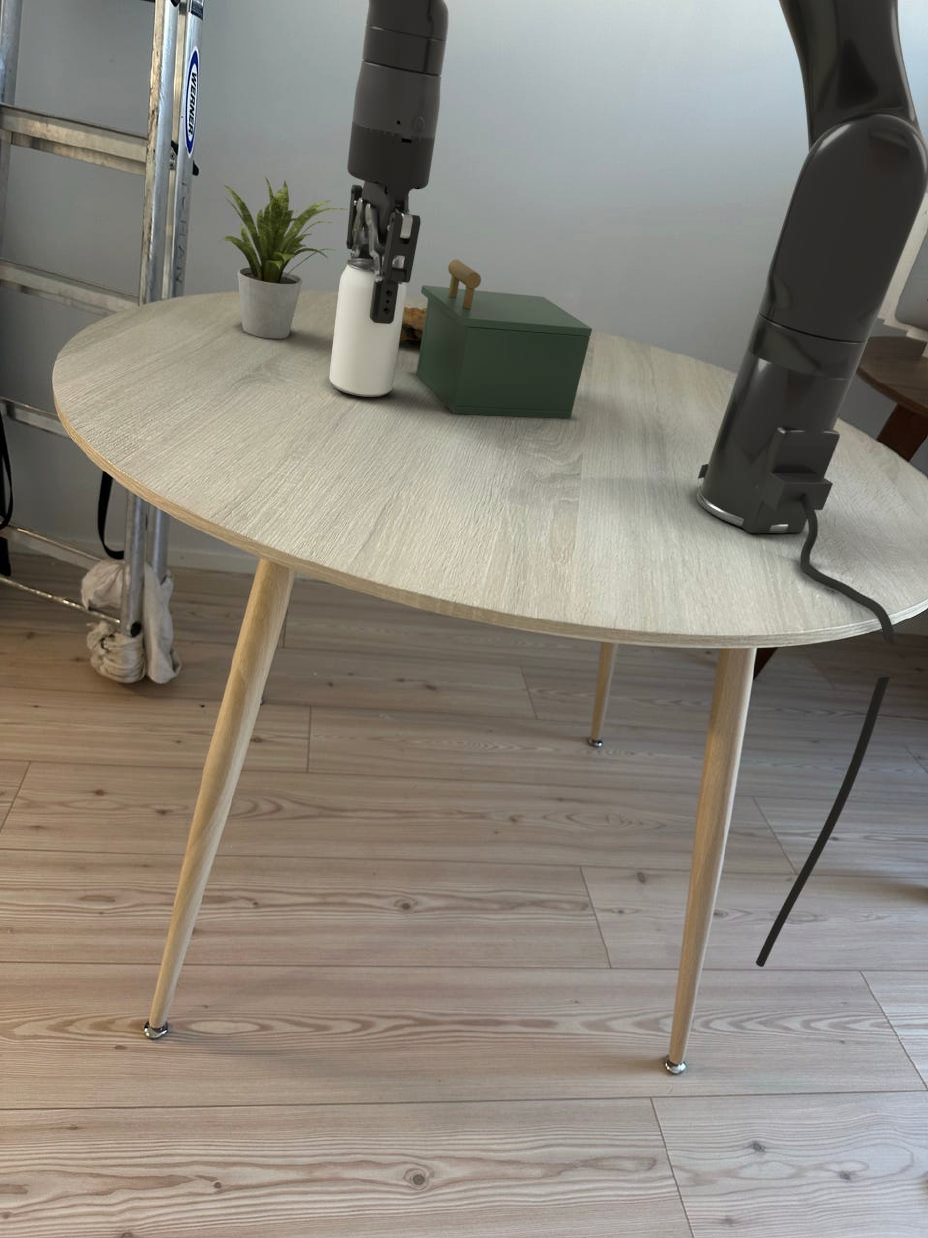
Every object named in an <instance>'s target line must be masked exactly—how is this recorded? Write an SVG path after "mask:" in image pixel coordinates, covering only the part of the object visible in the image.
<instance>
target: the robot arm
mask: <svg viewBox="0 0 928 1238" xmlns="http://www.w3.org/2000/svg"><path fill="white" fill-rule="evenodd" d="M778 3H779V6H780V8H781V11H782V14H783V18H784V20H785V23H786V26H787V29H788V31H789V34H790V38H791V41H792V43H793V46H794V50H795V53H796V57H797V60H798V64H799V69H800V74H801V79H802V80H801V81H802V86H803V87H802V88H803V95H804V104H805V116H806V126H807V142H808V143H807V147H808V153H807V155H806V156H805V159H804V160H803V163H802V164H801V165H802V166H801V168H800V171H799V174H798V176H797V179H796V182H795V185H794V188H793V190H792V194H791V197H790V200H789V204H788V207H787V209H786V213H785V216H784V219H783V223H782V226H781V230H780V233H779V235H778V239H777V243H776V245H775V249H774V252H773V255H772V259H771V261H770V264H769V268H768V271H767V276H766V280H765V282H766V283H765V287H764V291H763V296H762V298H761V301H760V305H759V308H758V312H757V314H756V317H755V319H754V323H753V327H752V330H751V332H750V334H749V339H748V342H747V344H746V347H745V350H744V353H743V355H742V360H741V362H740V366H739V368H738V372H737V374H736V377H735V381H734V384H733V388H732V390H731V393H730V396H729V399H728V401H727V404H726V407H725V410H724V413H723V417H722V420H721V423H720V426H719V430H718V432H717V436H716V438H715V442H714V445H713V447H712V451H711V453H710V457H709V461H708V463H707V464H706V463H705V464H701V467H700V469H699V474H698V476H697V479H699V480H700V479H702V481H701V484H700V486H699V487H698V490H697V494H696V500H697V502H698V503H699V505H700V506H701V507H702V508H704V510H706V511H707V512H709V513H710V514H712V515H713V516H715V517H717V518H718V519H720V520H722V521H724V522H727V523H730V524H732V525H734V526H737V527H740V528H742V529H743V530H744V531H746V532H747V533H750V534H776V533H777V534H782V533H784V534H785V533H787V534H788V533H803V532H804V529H805V527H806V524H807V523H808V525H807V526H808V531H807V536H806V540H805V541H804V543H803V546H802V548H801V551H800V558H799V559H800V561H799V565H800V569H801V570H802V571H803V572H804V573H805V574H806V575H807V576H808V577H809V578H810V579H812V580H814V581H815V582H817V583H819V584H821V585H823V586H825V587H828V588H830V589H832V590H834V591H837V592H839V593H840V594H842V595H844V596H845V597H847V598H849V599H850V600H852V601H853V602H855V603H857V604H859V605H860V606H862V607H864V608H866V609H867V610H869V611H871V612H872V614H874V615H875V617H877V620H878V622H879V624H880V628H881V630H882V631H881V632H882V635H883V640H884V641H885V642H886V643H887V644H889V645H893V646H895V645H896V636H895V635H896V634H895V631H894V626H893V623H892V620H891V618H890V616H889V614H888V613H887V611H886V609H885V608H884V607H883V606H882V605H881V604H880V603H879V602H877V601H876V600H874V599H872V598H871V597H868V596H867V595H865V594H863V593H861V592H859V591H858V590H856V589H854V588H853V587H851V586H850V585H848V584H846V583H844V582H842V581H841V580H838V579H835V578H834V577H831V576H828V575H826V574H824V573H823V572H821V571H819V570H818V569H817V568H816V567H814V566H813V565H812V564H811V562H810V561H811V553H812V550H813V548H814V545H815V543H816V540H817V538H818V532H819V522H818V517H817V516H818V515H817V513H816V511H823V510H824V507H825V505H826V502H827V500H828V497H829V495H830V492H831V490H832V487H833V484H834V483H833V482H832V481H830V480H829V479H827V478H825V476H826V474H827V471H828V468H829V466H830V463H831V461H832V458H833V456H834V453H835V451H836V449H837V446H838V443H839V440H840V438H841V435H840V432H839V431H837V430H836V429H835V426H836V423H837V421H838V418H839V416H840V413H841V410H842V408H843V405H844V403H845V400H846V397H847V396H848V392H849V390H850V387H851V384H852V383H853V379H854V377H855V375H856V372H857V370H858V367H859V364H860V362H861V359H862V357H863V354H864V351H865V350H866V349H865V348H866V346H867V344H868V340H869V338H870V336H871V333H872V331H873V328H874V326H875V323H876V321H877V319H878V317H879V314H880V312H881V309H882V307H883V305H884V302H885V300H886V298H887V297H886V296H887V294H888V292H889V288H890V286H891V283H892V281H893V278H894V275H895V274H896V271H897V268H898V265H899V263H900V261H901V258H902V255H903V252H904V250H905V248H906V245H907V243H908V240H909V237H910V236H911V234H912V233H911V232H912V230H913V228H914V224H915V223H916V220H917V218H918V216H919V212H920V210H921V208H922V205H923V202H924V199H925V196H926V193H927V190H928V146H927V144H926V141H925V139H924V136H923V133H922V131H921V127H920V123H919V120H918V117H917V113H916V108H915V105H914V101H913V96H912V92H911V87H910V83H909V78H908V75H907V73H908V72H907V70H906V69H907V68H906V65H905V60H904V55H903V49H902V43H901V35H900V34H901V33H900V25H899V0H778ZM449 16H450V15H449V9H448V5H447V3H446V2H445V0H368V9H367V15H366V21H365V27H364V38H363V39H364V40H363V47H362V57H361V58H362V61H361V63H360V69H359V75H358V78H357V83H356V87H355V92H354V93H355V94H354V101H353V111H352V122H351V130H350V140H349V148H348V157H347V165H346V168H347V172H348V174H349V175H351V176H352V177H353V178H355V179H357V180H360V181H363V182H364V183H363V185H359V184H352V186H351V188H350V201H349V209H348V211H349V212H348V223H347V233H346V242H345V244H346V249H347V250H350V259H354V258H363V259H373V260H374V265H375V275H374V276H375V281H374V287H373V294H372V302H371V310H370V319H371V320H372V321H373V322H374V323H382V324H391V323H392V322H393V320H394V314H395V307H396V300H397V293H398V286H399V285H398V284H402V283H403V282H405V284H409V283H410V282H411V279H412V273H413V266H414V262H415V257H416V250H417V245H418V239H419V234H420V227H421V224H422V222H421V216H420V215H418V214H412V213H411V212H410V208H409V207H410V205H409V203H410V200H409V199H410V196H409V194H410V192H411V191H412V190H423V189H425V188H426V187H427V186H428V185H429V181H430V174H431V167H432V163H433V162H432V161H433V155H434V148H435V141H436V135H437V129H438V128H437V127H438V122H439V121H438V120H439V114H440V107H441V85H442V83H441V82H442V76H441V75H442V74H443V67H444V61H445V54H446V49H447V48H446V47H447V39H448V33H449V19H450V17H449ZM392 264H394V267H392ZM890 679H891V676H882V677H878V678H877V681H876V684H875V687H874V690H873V692H872V696H871V698H870V702H869V706H868V709H867V712H866V715H865V719H864V722H863V726H862V728H861V731H860V734H859V737H858V741H857V742H856V743H857V744H856V746H855V749H854V752H853V755H852V758H851V761H850V764H849V765H848V768H847V771H846V774H845V776H844V779H843V781H842V784H841V787H840V788H839V791H838V794H837V796H836V798H835V801H834V803H833V805H832V807H831V810H830V812H829V814H828V816H827V818H826V820H825V821H824V822H825V823H824V824H823V827H822V829H821V831H820V833H819V835H818V836H817V839H816V841H815V843H814V845H813V847H812V849H811V851H810V853H809V855H808V856H807V859H806V861H805V862H804V864H803V866H802V868H801V870H800V872H799V873H798V876H797V878H796V880H795V881H794V883H793V886H792V888H791V890H790V891H789V893H788V895H787V897H786V899H785V900H784V903H783V904H782V906H781V908H780V911H779V912H778V915H777V916H776V918H775V920H774V922H773V924H772V927H771V928H770V931H769V932H768V935H767V937H766V939H765V941H764V943H763V946H762V947H761V950H760V952H759V954H758V956H757V959H756V961H755V965H756V966H758V967H760V968H763V967H765V964H766V962H767V961H768V958H769V956H770V953H771V952H772V949H773V947H774V945H775V943H776V941H777V939H778V937H779V935H780V933H781V931H782V929H783V927H784V925H785V923H786V921H787V919H788V917H789V915H790V914H791V912H792V909H793V907H794V905H795V904H796V902H797V900H798V899H799V896H800V894H801V892H802V890H803V889H804V887H805V884H806V883H807V881H808V879H809V878H810V875H811V874H812V871H813V870H814V868H815V866H816V864H817V862H818V860H819V859H820V857H821V855H822V853H823V851H824V849H825V847H826V845H827V843H828V841H829V839H830V837H831V835H832V833H833V831H834V828H835V826H836V824H837V823H838V820H839V818H840V816H841V814H842V812H843V809H844V807H845V806H846V803H847V800H848V798H849V795H850V793H851V792H852V789H853V787H854V785H855V782H856V779H857V775H858V773H859V771H860V768H861V765H862V763H863V761H864V759H865V755H866V752H867V749H868V747H869V743H870V741H871V737H872V734H873V732H874V728H875V725H876V722H877V719H878V716H879V713H880V710H881V706H882V702H883V699H884V696H885V693H886V690H887V688H888V684H889V682H890Z"/></svg>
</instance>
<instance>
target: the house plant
mask: <svg viewBox="0 0 928 1238" xmlns="http://www.w3.org/2000/svg"><path fill="white" fill-rule="evenodd" d="M264 177H265V181H266V185H267V190H268V195H269V203H268V204H267V205H266V206H265V208H264V211H263V209H262V208H261V209H260V210H259V211H258V213H257V216H256V224H255V221H254V219H253V217H252V214H251V212H250V210H249V208H248V206H247V205H246V203H245V202H244V201H243V199H242V198H241V197H240V196H239V195H238V194H237V193H236V192H235V191H234V190H233V189H232V188H231V187H229V186H227V185H226V184H225V183H222V185H223V186H224V187H225V188H226V190H228V192H229V193H230V194H231V196H232V198H233V199H234V201H235V203H236V204H237V207H238V208H239V210H238V209H237V207H236V206H235V205H234V204H233V202H232V201H231V200H230V199H228V198H227V197H226V196H224V198H225V200H226V201H228V203H229V204H230V205H231V207H233V209H234V210H235V211H236V214H237V215H238V217H239V218H240V219H241V220H242V222H243V224H242V223H241V224H240V237H241V239H240V238H238V237H235V236H232V235H228V236H225V237H223V238H221V240H220V241H219V243H221V242H223V241H225V242H226V241H227V242H231V243H232V244H233V245H234V246H236V248H237V249H239V251H241V253H242V254H243V255H244V257H245V258H246V261H247V262H248V265H249V266H245V267H241V268H239V269H238V270H237V280H238V291H239V301H240V313H241V322H242V324H241V325H242V330H243V331H244V332H246V333H248V334H249V335H252V336H255V337H259V338H263V339H264V338H265V339H285V338H288V337H289V335H290V332H291V328H292V324H293V319H294V317H295V312H296V308H297V304H298V301H299V297H300V293H301V288H302V285H303V279H302V278H301V277H300V276H298V275H296V274H294V273H291V272H292V271H293V270H295V269H296V268H297V267H298V266H299V265H301V264H302V263H303V262H305V261H307V260H308V259H309V258H310V257H312V256H313V255H316V254H317V253H318V254H321V255H322V256H323V257H325V258H326V259H328V256H327V255H326V254H324V253H323V252H322V251H335V249H333V248H322V249H319V250H318V249H317V248H312V247H311V248H310V247H307V246H306V244H302V243H301V242H302V241H303V240H304V239H305V238H306V237H308V236H312V233H306V232H307V230H309V229H310V228H311V227H313V226H315V225H318V224H322V223H323V224H325V223H326V224H332V222H330V221H326V220H318V221H316V222H314V223H312V224H310V225H308V227H306V229H305V230H304V231H303V232H302V233H301V234H300V235H299V233H300V232H301V230H302V229H303V227H304V226H305V225H306V224H307V223H308V221H310V220H311V219H312V218H313V217H315V216H317V215H318V214H320V213H323V212H325V211H329V210H339V211H340V210H345V211H347V210H348V209H347V208H342V207H326V208H321V209H319V208H320V207H321V206H322V205H325V204H327V203H329V202H330V203H331V200H323V201H318V202H316V203H313V204H312V205H310V206H308V208H306V209H305V210H304V211H303V212H302V213H300V215H298V217H294V218H293V215H294V212H297V213H298V212H299V210H297V209H294V210H292V209H290V196H289V195H290V194H289V186H288V183H287V182H286V179H284V181H283V186H282V188H281V189H279V190H278V191H277V192H276V193H275V194H274V193H273V190H272V186H271V183H270V181H269V180H268V178H267V176H264ZM239 211H240V212H239ZM292 222H293V223H292ZM291 223H292V225H291ZM290 225H291V226H290ZM245 226H246V227H245ZM289 227H290V228H289ZM246 228H247V230H248V233H249V234H250V237H251V240H252V242H251V240H250V237H249V235H248V233H247V230H246ZM287 230H288V231H287ZM298 235H299V236H298ZM252 243H253V244H252ZM253 245H254V246H253ZM303 247H304V248H303ZM256 252H257V253H256ZM304 252H305V253H306V252H313V253H311V254H310V255H308V257H306V258H304V260H302V261H301V262H299V263H298V264H296V265H295V266H294V267H292V269H291V270H290V271H286V270H285V268H286V267H287V266H288V264H289V263H290V261H291V260H293V259H294V258H295V257H296V256H298V255H299V254H301V253H304Z"/></svg>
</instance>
